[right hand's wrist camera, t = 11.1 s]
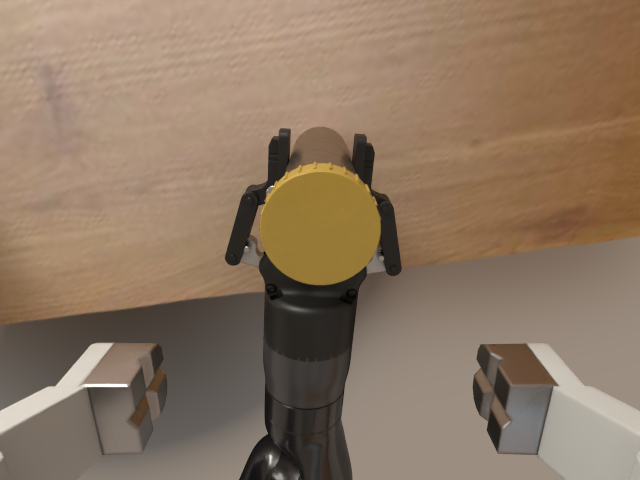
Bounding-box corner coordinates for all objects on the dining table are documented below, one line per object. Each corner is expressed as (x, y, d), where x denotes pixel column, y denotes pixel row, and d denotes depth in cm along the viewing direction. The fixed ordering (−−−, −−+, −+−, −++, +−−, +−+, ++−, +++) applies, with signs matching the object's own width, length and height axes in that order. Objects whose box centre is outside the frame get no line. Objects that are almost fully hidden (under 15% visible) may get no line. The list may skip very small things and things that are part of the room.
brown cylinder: (356, 166, 38) (388, 249, 20) (308, 189, 39) (298, 290, 21) (332, 117, 37) (344, 158, 19) (283, 142, 38) (249, 205, 20)
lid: (395, 242, 22) (402, 256, 20) (296, 287, 23) (294, 305, 21) (347, 140, 20) (349, 146, 18) (241, 193, 21) (234, 205, 19)
